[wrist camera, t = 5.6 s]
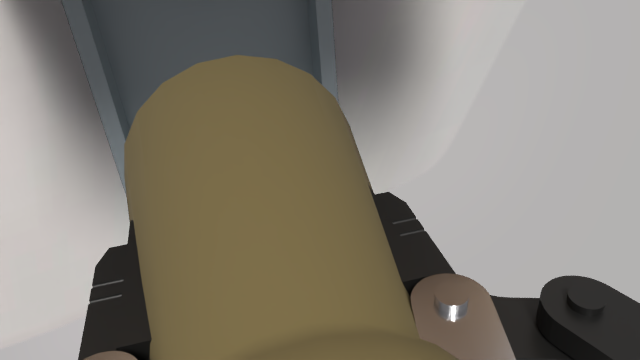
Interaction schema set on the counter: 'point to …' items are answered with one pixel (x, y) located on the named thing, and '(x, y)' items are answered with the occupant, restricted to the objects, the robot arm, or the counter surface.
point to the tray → (189, 46)
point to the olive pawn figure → (260, 223)
